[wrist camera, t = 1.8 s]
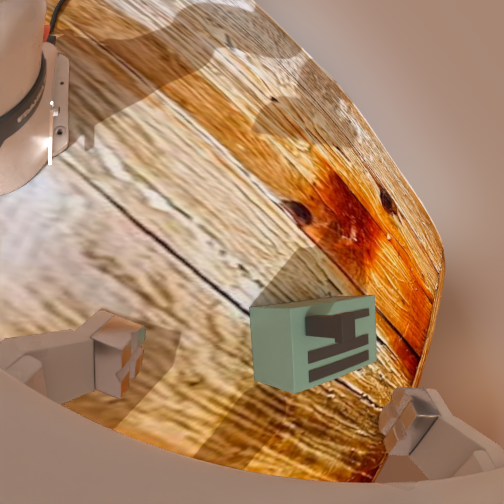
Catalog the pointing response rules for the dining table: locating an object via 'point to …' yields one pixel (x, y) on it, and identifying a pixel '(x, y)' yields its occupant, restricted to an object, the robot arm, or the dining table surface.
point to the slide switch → (332, 326)
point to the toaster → (309, 342)
